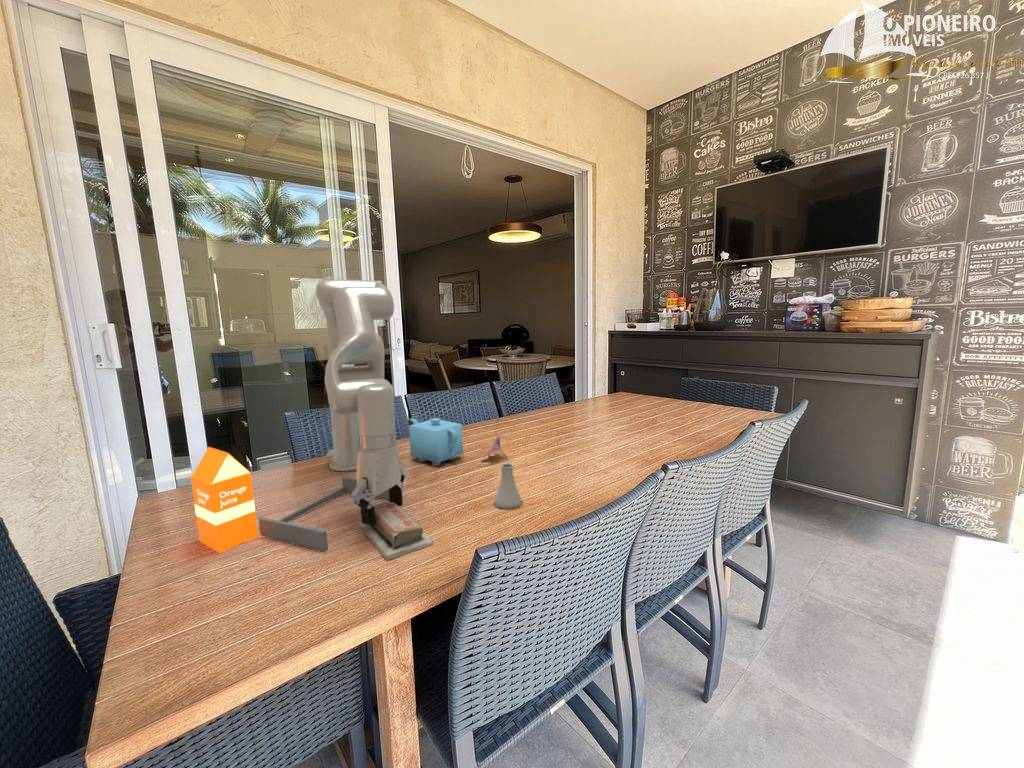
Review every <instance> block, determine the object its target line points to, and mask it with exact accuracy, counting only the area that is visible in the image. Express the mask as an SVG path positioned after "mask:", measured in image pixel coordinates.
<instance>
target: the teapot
mask: <svg viewBox="0 0 1024 768" xmlns="http://www.w3.org/2000/svg"><path fill="white" fill-rule="evenodd" d="M409 420H410V421H411V423H412V424H409V426H408V430H409V432H408V434H409V447H410V448H409V450H410V456H412V457H415V458H418V462H420V463H423V462H426V461H430V462H432V464H431V465H432V466H433V467H434V466H435V467H436V466H437V467H438V466H441V465H442V463H441V462H444V461H448V460H449V461H454V460H456V458H457V457H458V456H460V455H463V454H464V446H463V444H464V443H463V424H462V423H457V422H454V421H448V420H443V419H441V418H438V417H433V418H431V419H428V420H425V421H422V422H419V421H418V419H416V418H409Z"/></svg>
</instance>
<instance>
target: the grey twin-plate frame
mask: <svg viewBox="0 0 1024 768" xmlns="http://www.w3.org/2000/svg"><path fill="white" fill-rule="evenodd" d="M341 482H342V486H341V487H339V488H337V489H336V490H333V491H332V492H330V493H327V494H326V495H324V496H322V497H320V498H318V499H316V500H314V501H313V502H310V503H308V504H307V505H304V506H302V507H301V508H298V509H297V510H295V511H293V512H291V513H289V514H287V515H285V516H283V517H281V518H279V519H278V520H276V519H272V518H268V517H264V516H262V517H259V518H258V524H259V525H258V526H259V527H258V528H259V535H262V536H265V537H264V538H267V537H269V538H268V539H271V538H273V539H272V540H275V539H277V541H280V540H281V541H280V542H284V541H285V542H284V543H288V542H289V543H288V544H292V543H294V544H293V545H298V546H301V545H302V547H305V546H306V548H310V549H314V550H315V549H316V550H319V551H322V550H323V552H326V551H327V550H329V547H328V546H329V545H328V537H327V535H328V534H327V530H326V529H324V530H323V529H319V528H315V527H311V526H305V525H301V524H296V523H291V522H292V521H291V520H293V519H294V518H296V517H298V516H300V515H302V514H304V513H306V512H307V511H309V510H311V509H313V508H315V507H317V506H319V505H321V504H323V503H324V502H326V501H328V500H330V499H332V498H334V497H336V496H338V495H340V494H342V493H343V494H345V493H346V492H350V493H349V494H352V492H353V491H354V489H355V488H356V487H357V478H354V477H348V476H347V477H346V476H343V477H341ZM391 488H392V487H391ZM344 492H345V493H344ZM368 492H370V493H372V491H370V490H369V491H368ZM343 494H342V495H343ZM340 496H341V495H340ZM338 497H339V496H338ZM336 498H337V497H336ZM376 498H377V499H384V500H389V501H390V498H389V489H388V490H387V491H385V492H383V493H382V494H380V495H378V496H376V497H375V499H376ZM334 499H335V498H334ZM332 500H333V499H332ZM330 501H331V500H330ZM323 505H324V504H323ZM321 506H322V505H321ZM319 507H320V506H319ZM317 508H318V507H317ZM306 514H307V513H306ZM304 515H305V514H304ZM289 521H291V522H290V523H288V522H289ZM293 521H294V520H293ZM262 536H261V537H262Z"/></svg>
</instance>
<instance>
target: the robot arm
mask: <svg viewBox="0 0 1024 768" xmlns="http://www.w3.org/2000/svg"><path fill="white" fill-rule="evenodd" d="M315 294H316V299H317V302H318V303H319V307H320V308H321V309H322V312H323V314H324V316H325V319H326V330H327V331H326V332H327V346H328V347H327V350H328V356H329V358H328V360H327V363H326V366H325V373H324V386H325V390H326V394H327V401H328V405H329V409H330V421H331V434H332V443H333V444H332V445H333V449H329V450H328V452H327V453H326V454H325V456H326V457H327V458H331V461H330V463H329V468H330V470H332V471H336V472H351V471H355V470H356V479H357V487H356V488H355V489H354V491H353V492H352V493H350V495H351V498H352V499H353V502H354V504H355V505H357V506H358V507H359V508H360V516H361V520H362V523H363V524H368V525H375V523H376V521H375V508H374V507H372V506H374V503H375V499H376V496H378V495H380V494H382V493H383V492H385V491H387V490H388V489H389V498H390V500H389V502H394V503H396V504H397V505H398V506H399V507H402V506H403V488H404V484H403V483H404V480H405V474H406V470H407V467H406V465H403V464H401V459H400V453H399V449H398V444H397V433H396V419H395V418H396V417H395V416H396V414H395V391H394V387H393V385H392V384H391V383H390V381H389V380H387V379H385V345H384V341H383V338H382V336H381V335H380V334H378V333H376V329H375V324H374V321H379V320H380V321H381V320H385V321H386V320H390V319H391V318H392V317H393V315H394V312H395V303H394V298H393V296H392V293H391V291H390V290H389V288H388V287H387V286H386V285H384V284H383V283H382V282H381V281H377V280H365V279H364V280H363V279H361V280H360V279H340V278H339V279H338V278H337V279H334V278H333V279H323V280H321V281H319V282H318V283H317V284H316V287H315ZM363 364H364V365H363ZM366 364H367V365H366ZM345 365H346V366H345ZM347 365H348V366H347ZM391 487H392V488H391ZM369 490H370V491H372V493H370V492H368V491H369ZM368 497H369V498H368ZM367 498H368V500H367Z"/></svg>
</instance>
